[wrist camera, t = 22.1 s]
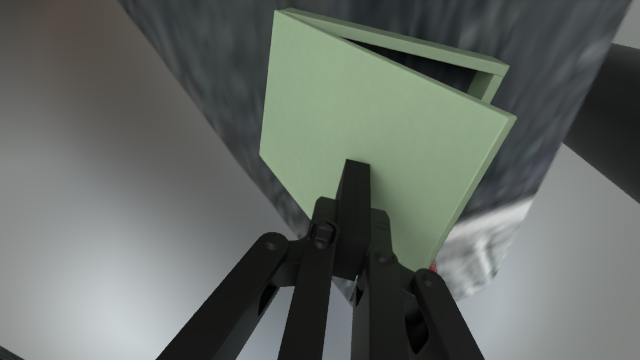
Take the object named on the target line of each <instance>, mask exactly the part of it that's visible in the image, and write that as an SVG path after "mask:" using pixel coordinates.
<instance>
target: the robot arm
mask: <svg viewBox="0 0 640 360" xmlns="http://www.w3.org/2000/svg"><path fill="white" fill-rule="evenodd" d="M332 276H336V277H340V278H344V279H348V280H352V281H355V279H356V276H357V284H356V286H355V288H354V291H353V293H352V296H351V298H350V301H353V320H352V321H353V322H352V341H351V360H485V359H484V357H483V355H482V354H481V351H480V349H479V348H478V346H477V344H476V342H475V340H474V338H473V336H472V334H471V332H470V330H469V328H468V326H467V324H466V322H465V320H464V318H463V317H462V315H461V313H460V311H459V309H458V307H457V305H456V303H455V301H454V299H453V297H452V295H451V293H450V291H449V289H448V288H447V286H446V284H445V282H444V280H443V279H442V277H441V276H440V275H438V274H437V273H436V272H434V271H432V270H430V269H426V268H421V269H418V270H417V271H416V272H414V271H412V270H410V269H408V268H406V267H405V266H403V265H402V264H400V263H399V261H398V258H397V256H396V255H395V253H394V252H393V248H392V238H391V227H390V218H389V216H388V215H387V213H386V211H384V210H379V209H375V208H371V186H370V164H367V163H362V162H358V161H354V160H350V159H346V161H345V165H344V168H343V172H342V175H341V179H340V182H339V186H338V189H337V193H336V198H335V199H332V198H328V197H323V196H320V197H319V198H318V199H317V200H316V202H315V206H314V211H313V215H312V219H311V223H310V227H309V231H308V233H307V235H306V236H305V237H304V238H302V239H300V240H295V241H288V240H287V239H286V237H285V236H284V235H282V234H280V233H276V232H268V233H265V234H263V235H262V236H261V237H259V239H258V240H257V241H256V242H255V243H254V245H253V246H252V247H251V248H250V249H249V250H248V252H247V253H246V254H245V255H244V256H243V258H242V259H241V260H240V261H239V262H238V263H237V265H236V266H235V267H234V268H233V269H232V270H231V272H230V273H229V274H228V275H227V276H226V277H225V279H224V280H223V281H222V282H221V283H220V285H219V286H218V287H217V288H216V289H215V290H214V292H213V293H212V294H211V295H210V296H209V297H208V299H207V300H206V301H205V302H204V303H203V305H202V306H201V307H200V308H199V309H198V310H197V312H196V313H195V314H194V315H193V316H192V317H191V319H190V320H189V321H188V322H187V323H186V325H185V326H184V327H183V328H182V329H181V330H180V332H179V333H178V334H177V335H176V336H175V338H174V339H173V340H172V341H171V342H170V343H169V344H168V346H167V347H166V348H165V349H164V350H163V352H162V353H161V354H160V355H159V356H158V357H157V359H156V360H236V358H237V356H238V355H239V353H240V351H241V350H242V348H243V346H244V345H245V343H246V341H247V340H248V339H249V337H250V335H251V334H252V332H253V331H254V329H255V327H256V326H257V324H258V323H259V321H260V319H261V318H262V316H263V315H264V313H265V311H266V310H267V308H268V306H269V305H270V303H271V302H272V300H273V299H274V297H275V295H276V294H277V292H278V291H279V289H280V287H286V286H295V289H294V293H293V297H292V301H291V305H290V309H289V313H288V318H287V322H286V326H285V331H284V334H283V338H282V343H281V346H280V351H279V355H278V359H277V360H322V354H323V345H324V337H325V329H326V321H327V312H328V304H329V296H330V288H331V280H332ZM353 298H354V300H353Z"/></svg>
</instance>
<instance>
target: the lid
mask: <svg viewBox="0 0 640 360" xmlns="http://www.w3.org/2000/svg"><path fill="white" fill-rule="evenodd" d="M516 119H517V117H516V116H515V115H513V114H510V113H508V112H506V111H504V110H501V109H499V108H497V107H495V106H492V105H490V104H488V103H486V102H484V101H481V100H479V99H477V98H475V97H472V96H470V95H468V94H466V93H464V92H461V91H459V90H457V89H455V88H452V87H450V86H448V85H446V84H444V83H441V82H439V81H437V80H435V79H432V78H430V77H428V76H426V75H423V74H421V73H419V72H417V71H415V70H412V69H410V68H408V67H406V66H403V65H401V64H399V63H397V62H395V61H392V60H390V59H388V58H386V57H383V56H381V55H379V54H377V53H375V52H372V51H370V50H368V49H366V48H363V47H361V46H359V45H357V44H354V43H352V42H350V41H348V40H346V39H343V38H341V37H339V36H337V35H334V34H332V33H330V32H328V31H326V30H323V29H321V28H319V27H317V26H314V25H312V24H310V23H308V22H305V21H303V20H301V19H299V18H297V17H294V16H292V15H290V14H288V13H285V12H283V11H278V10H275V12H274V21H273V30H272V40H271V49H270V59H269V68H268V78H267V87H266V97H265V106H264V116H263V125H262V135H261V144H260V154H259V155H260V156H261V158H262V159H263V160H264V161H265V163H266V164H267V165H268V166H269V168H270V169H271V170H272V171H273V173H274V174H275V175H276V176H277V178H278V179H279V180H280V182H281V183H282V184H283V185H284V187H285V188H286V189H287V190H288V192H289V193H290V194H291V195H292V197H293V198H294V199H295V200H296V202H297V203H298V204H299V206H300V207H301V208H302V209H303V211H304V212H305V213H306V214H307V216H308V217H309V218H310V219H312V215H313V211H314V206H315V202H316V200H317V199H318V198H319V197H320V196H323V197H328V198H332V199H335V198H336V193H337V189H338V186H339V182H340V179H341V175H342V172H343V168H344V165H345V161H346V159H350V160H354V161H358V162H362V163H367V164H370V186H371V208H375V209H379V210H384V211H386V213H387V215H388V216H389V218H390V227H391V238H392V248H393V252H394V253H395V255H396V256H397V258H398V261H399V263H400V264H402V265H403V266H405V267H406V268H408V269H410V270H412V271H414V272H416V271H417V270H418V269H421V268H426V269H428V268H429V267H430V265H431V263H432V261H433V260H434V258H435V256H436V255H437V253H438V251H439V250H440V248H441V246H442V245H443V243H444V241H445V239H446V238H447V236H448V234H449V233H450V231H451V229H452V228H453V226H454V224H455V223H456V221H457V219H458V217H459V216H460V214H461V212H462V211H463V209H464V207H465V206H466V204H467V202H468V201H469V199H470V197H471V195H472V194H473V192H474V190H475V189H476V187H477V185H478V184H479V182H480V180H481V179H482V177H483V175H484V173H485V172H486V170H487V168H488V167H489V165H490V163H491V162H492V160H493V158H494V157H495V155H496V153H497V151H498V150H499V148H500V146H501V145H502V143H503V141H504V140H505V138H506V136H507V135H508V133H509V131H510V129H511V128H512V126H513V124H514V123H515V121H516ZM356 278H357V276H356Z"/></svg>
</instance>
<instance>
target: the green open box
mask: <svg viewBox="0 0 640 360" xmlns="http://www.w3.org/2000/svg"><path fill="white" fill-rule="evenodd" d="M280 11H283V12H285V13H288V14H290V15H292V16H294V17H297V18H299V19H301V20H303V21H305V22H308V23H310V24H312V25H314V26H317V27H319V28H321V29H323V30H326V31H328V32H330V33H332V34H334V35H337V36H339V37H343V38H347V39H352V40H356V41H360V42H364V43H368V44H372V45H376V46H380V47H384V48H389V49H393V50H397V51H401V52H405V53H409V54H413V55H417V56H421V57H426V58H430V59H434V60H438V61H442V62H446V63H450V64H454V65H459V66H463V67H467V68H471V69H475V70H477V72H476V74H475V77H474V79H473V81H472V83H471V85H470V87H469V89H468V91H467V94H468V95H470V96H472V97H475V98H477V99H479V100H481V101H484V102H486V103H488V104H490V103H491V101H492V99H493V97H494V95H495V93H496V91H497V89H498V87H499V86H500V84H501V82H502V80H503V78H504V77H503V76H505V74H506V73H507V71H508V69H509V67H510V66H509V65H507V64H505V63H503V62H502V61H500V60H498V59H496V58H494V57H491V56H487V55H483V54H479V53H475V52H471V51H467V50H463V49H458V48H454V47H450V46H446V45H442V44H438V43H434V42H430V41H426V40H421V39H417V38H413V37H409V36H405V35H401V34H397V33H393V32H388V31H384V30H380V29H376V28H372V27H368V26H364V25H360V24H356V23H351V22H347V21H343V20H339V19H335V18H331V17H327V16H323V15H319V14H314V13H310V12H306V11H302V10H298V9H294V8H287V9H283V10H280Z"/></svg>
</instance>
